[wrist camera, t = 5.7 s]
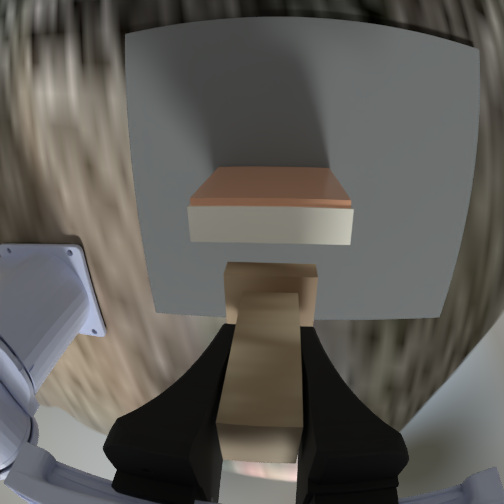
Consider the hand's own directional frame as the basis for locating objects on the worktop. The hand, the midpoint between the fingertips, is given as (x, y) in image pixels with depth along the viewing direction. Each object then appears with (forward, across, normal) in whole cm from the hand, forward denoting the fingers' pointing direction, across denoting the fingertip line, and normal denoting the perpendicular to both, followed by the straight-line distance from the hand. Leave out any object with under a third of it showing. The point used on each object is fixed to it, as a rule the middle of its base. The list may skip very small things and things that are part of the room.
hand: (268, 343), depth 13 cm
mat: (+7, -2, -5) cm, 9 cm away
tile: (+7, 0, -5) cm, 8 cm away
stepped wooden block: (+3, 0, 0) cm, 3 cm away
